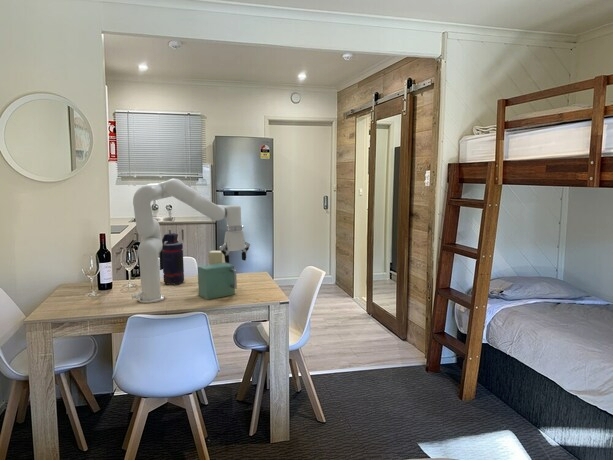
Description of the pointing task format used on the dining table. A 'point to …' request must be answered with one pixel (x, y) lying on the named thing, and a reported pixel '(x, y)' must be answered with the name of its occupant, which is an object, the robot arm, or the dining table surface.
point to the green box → (220, 282)
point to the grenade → (172, 259)
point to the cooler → (203, 276)
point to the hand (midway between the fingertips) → (235, 261)
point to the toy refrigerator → (216, 257)
